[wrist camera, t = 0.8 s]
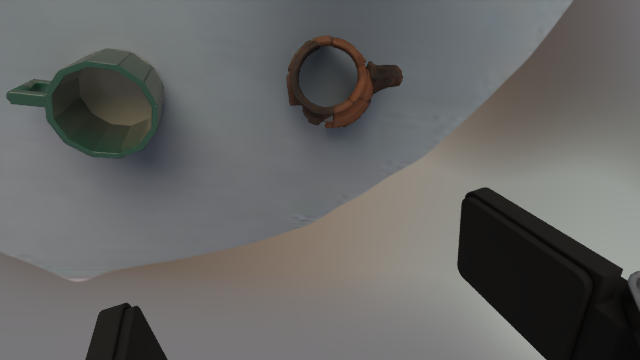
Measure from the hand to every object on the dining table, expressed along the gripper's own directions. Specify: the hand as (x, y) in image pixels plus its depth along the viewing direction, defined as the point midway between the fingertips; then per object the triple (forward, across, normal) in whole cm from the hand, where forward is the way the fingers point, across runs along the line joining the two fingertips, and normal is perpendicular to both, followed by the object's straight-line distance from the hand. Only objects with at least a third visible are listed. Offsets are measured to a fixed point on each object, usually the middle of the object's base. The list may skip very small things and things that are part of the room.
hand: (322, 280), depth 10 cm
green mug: (+30, +11, -2) cm, 32 cm away
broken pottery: (+31, -12, +2) cm, 33 cm away
